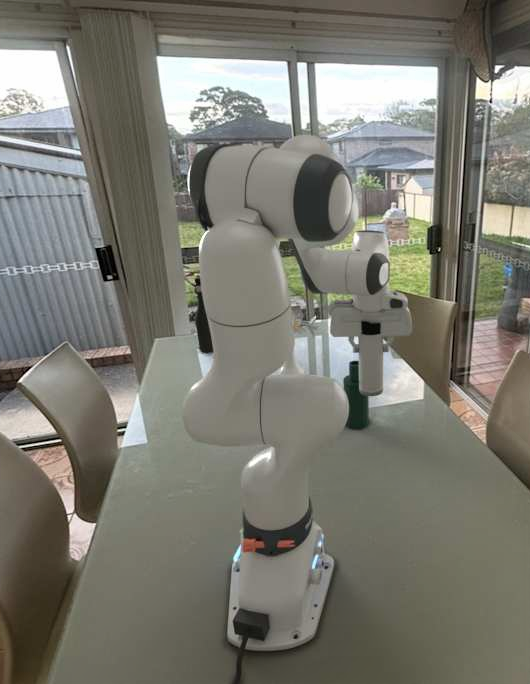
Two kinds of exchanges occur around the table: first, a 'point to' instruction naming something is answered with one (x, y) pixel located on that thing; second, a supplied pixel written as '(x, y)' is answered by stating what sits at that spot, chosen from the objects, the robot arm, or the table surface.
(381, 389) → the travel mug
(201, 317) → the wine bottle
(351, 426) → the green bottle
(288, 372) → the flower vase
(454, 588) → the table surface
